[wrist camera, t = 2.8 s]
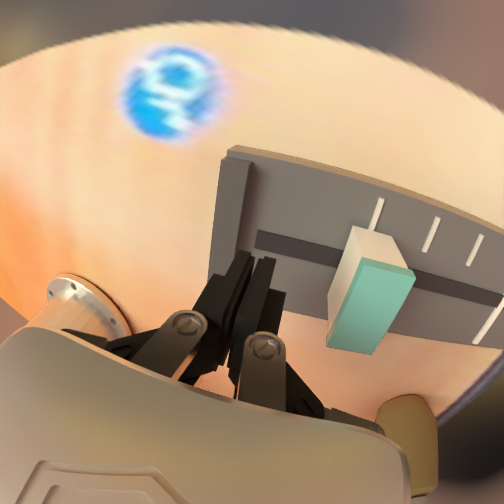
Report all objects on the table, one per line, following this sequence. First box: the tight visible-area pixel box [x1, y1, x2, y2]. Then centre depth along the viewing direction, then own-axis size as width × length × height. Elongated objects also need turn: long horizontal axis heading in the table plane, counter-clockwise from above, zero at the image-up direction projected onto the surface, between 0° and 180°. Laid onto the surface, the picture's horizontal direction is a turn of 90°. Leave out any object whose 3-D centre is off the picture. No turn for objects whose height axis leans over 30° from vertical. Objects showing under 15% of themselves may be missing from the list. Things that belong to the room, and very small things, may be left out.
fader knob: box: [326, 226, 416, 355], centre depth 15 cm, size 5×3×4 cm, turn 170°
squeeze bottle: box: [375, 395, 438, 504], centre depth 19 cm, size 8×8×18 cm
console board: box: [207, 145, 504, 349], centre depth 17 cm, size 10×30×3 cm, turn 80°
